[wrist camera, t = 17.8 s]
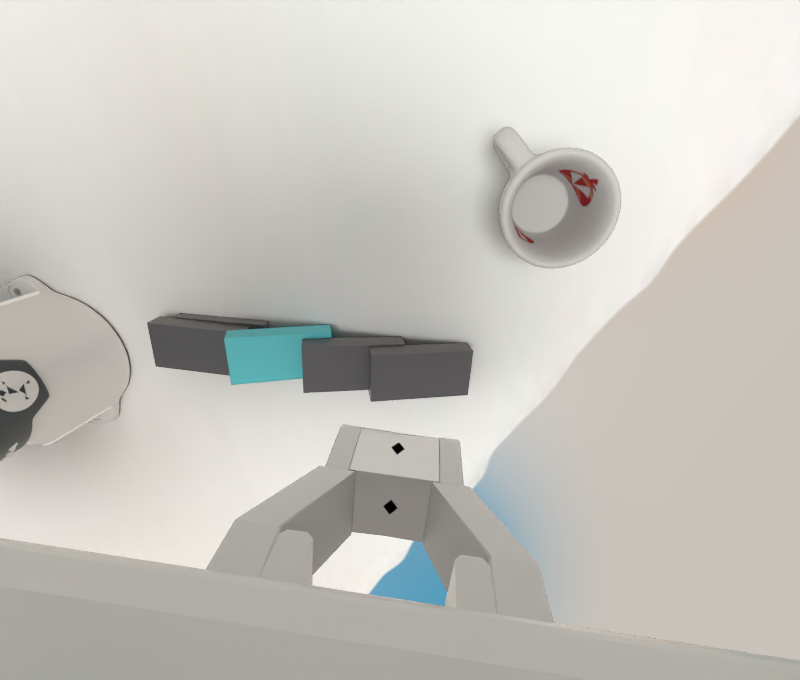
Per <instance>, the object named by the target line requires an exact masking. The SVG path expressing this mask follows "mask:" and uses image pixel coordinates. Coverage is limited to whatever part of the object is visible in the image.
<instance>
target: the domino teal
mask: <svg viewBox="0 0 800 680" xmlns="http://www.w3.org/2000/svg"><path fill="white" fill-rule="evenodd" d="M311 338H332V336H331V328H330V325H313V326H297V327H280V328H263V329H246V330H230V331H227V332H226V335H225V337H224V342H225V348H226V354H227V360H228V367H229V373H230V379H231V385H235V384H246V383H257V382H268V381H279V380H290V379H301V378H303V369H302V349H301V346H302V339H311Z"/></svg>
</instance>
